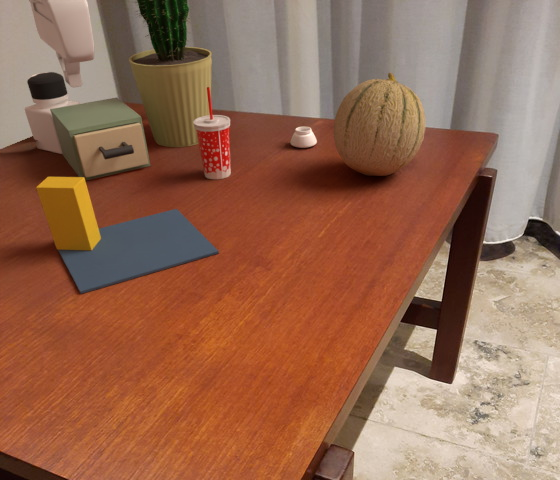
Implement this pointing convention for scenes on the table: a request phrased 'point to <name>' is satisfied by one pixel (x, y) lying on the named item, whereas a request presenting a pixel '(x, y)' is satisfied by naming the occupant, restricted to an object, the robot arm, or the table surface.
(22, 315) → the table surface
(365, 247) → the table surface
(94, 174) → the drawer
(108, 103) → the cabinet
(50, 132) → the container
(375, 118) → the cantaloupe
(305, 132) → the white jar
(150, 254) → the mat
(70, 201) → the sponge
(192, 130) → the potted cactus
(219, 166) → the beverage cup
